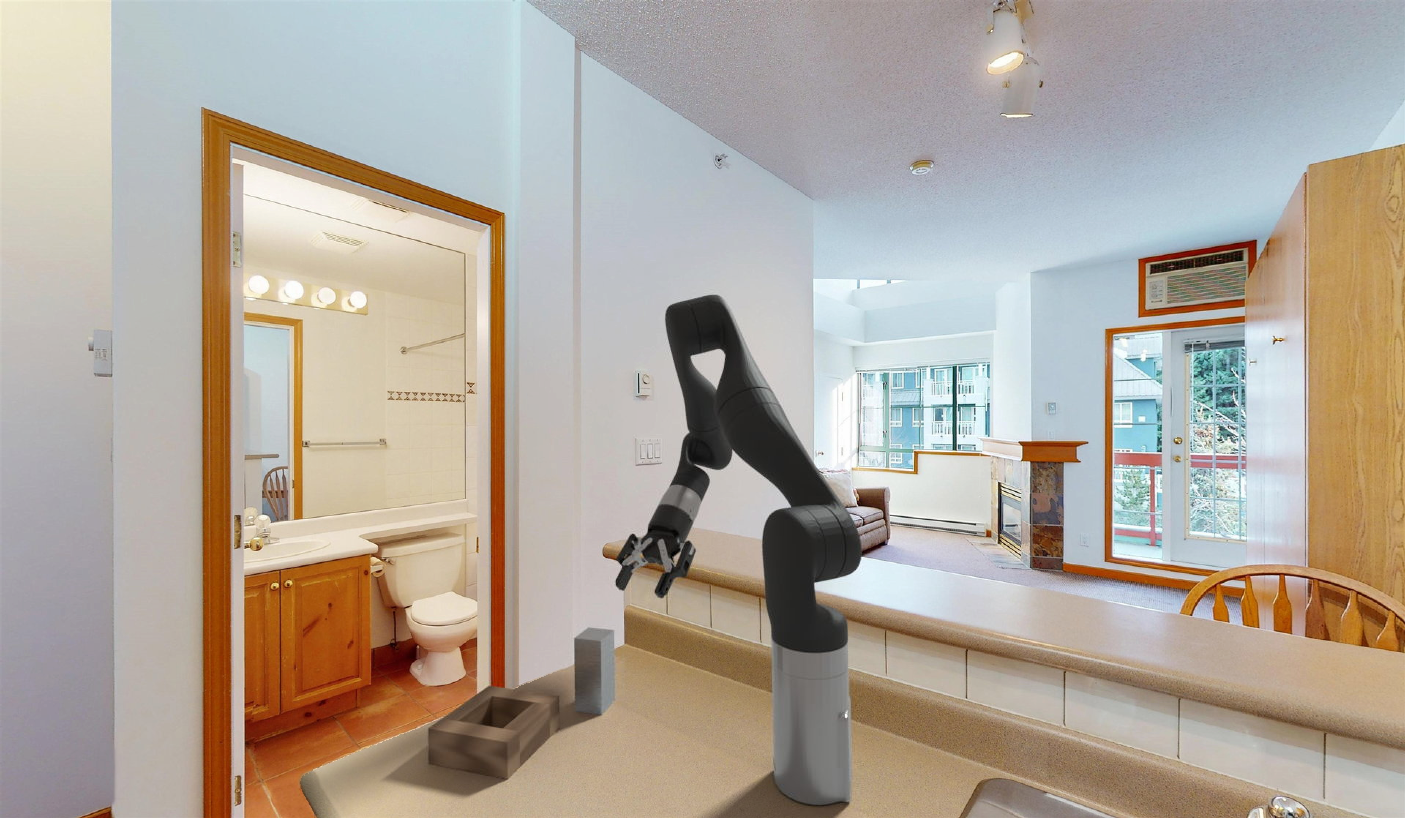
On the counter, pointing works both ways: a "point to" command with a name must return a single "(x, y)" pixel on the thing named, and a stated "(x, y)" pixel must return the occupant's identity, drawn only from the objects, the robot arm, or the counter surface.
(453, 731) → the well block
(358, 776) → the counter surface
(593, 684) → the grey square pillar
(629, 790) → the counter surface
